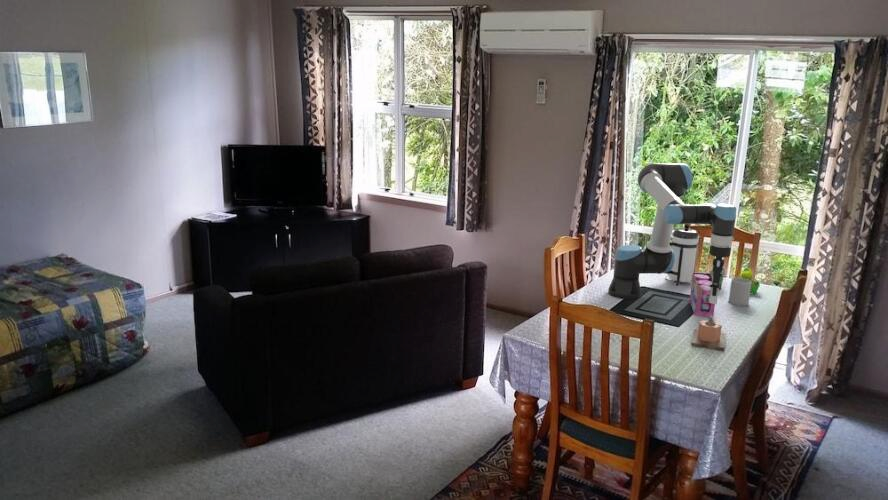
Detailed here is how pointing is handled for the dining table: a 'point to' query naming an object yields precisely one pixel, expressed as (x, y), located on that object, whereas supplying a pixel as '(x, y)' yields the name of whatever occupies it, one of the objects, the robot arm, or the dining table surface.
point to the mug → (740, 291)
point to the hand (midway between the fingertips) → (713, 297)
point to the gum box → (701, 295)
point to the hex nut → (709, 331)
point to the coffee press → (684, 254)
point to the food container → (720, 277)
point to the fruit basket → (748, 275)
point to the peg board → (706, 344)
